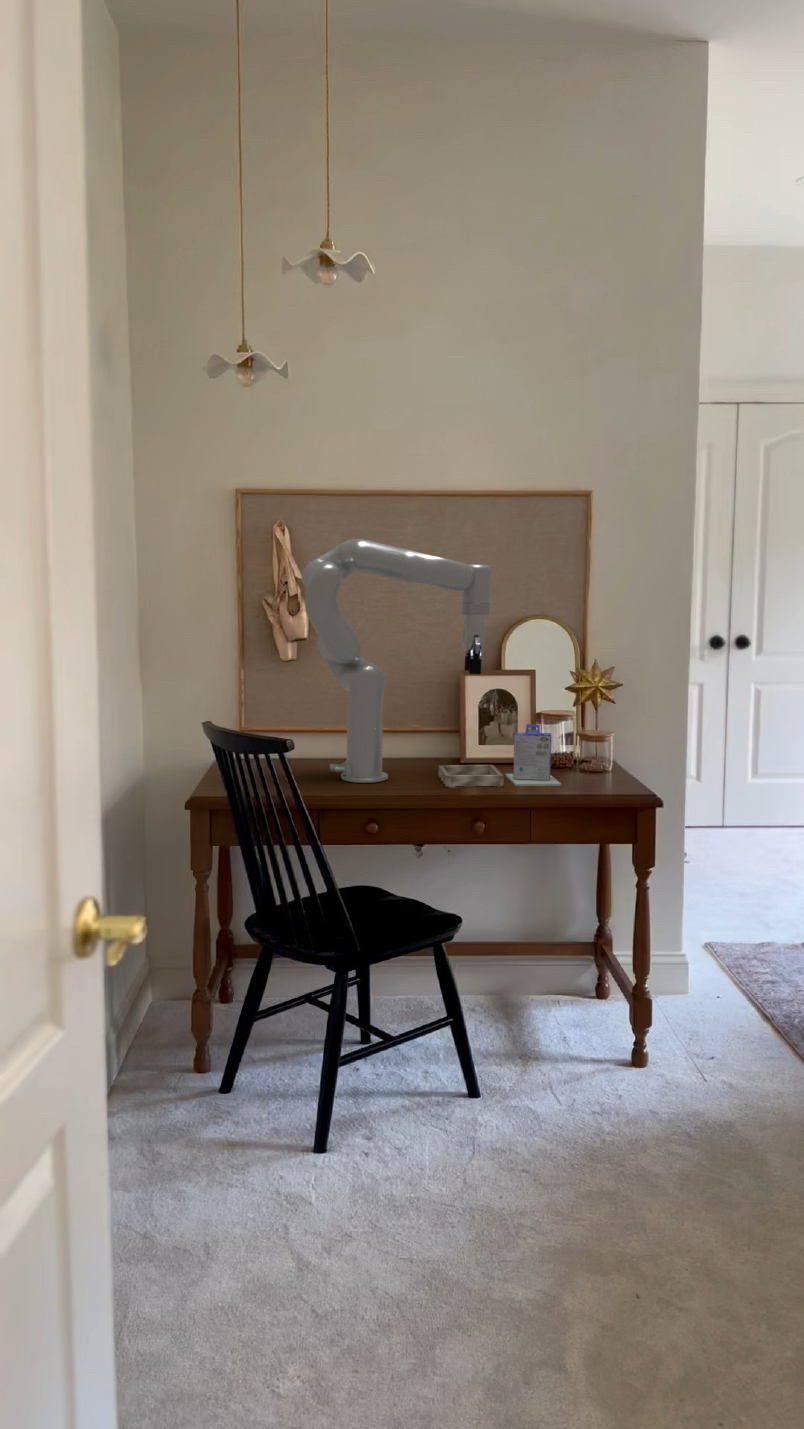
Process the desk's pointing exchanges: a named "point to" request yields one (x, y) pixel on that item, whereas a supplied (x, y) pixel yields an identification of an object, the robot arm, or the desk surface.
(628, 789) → the desk surface
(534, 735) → the ink cartridge box
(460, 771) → the holder
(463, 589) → the robot arm
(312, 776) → the desk surface
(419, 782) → the desk surface
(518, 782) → the mat
